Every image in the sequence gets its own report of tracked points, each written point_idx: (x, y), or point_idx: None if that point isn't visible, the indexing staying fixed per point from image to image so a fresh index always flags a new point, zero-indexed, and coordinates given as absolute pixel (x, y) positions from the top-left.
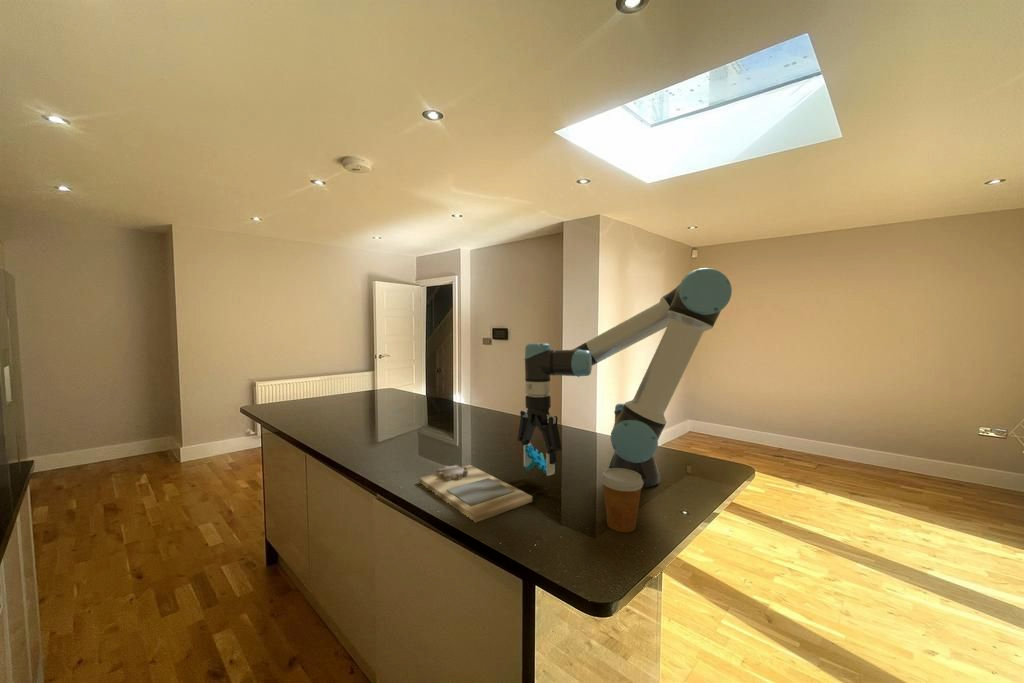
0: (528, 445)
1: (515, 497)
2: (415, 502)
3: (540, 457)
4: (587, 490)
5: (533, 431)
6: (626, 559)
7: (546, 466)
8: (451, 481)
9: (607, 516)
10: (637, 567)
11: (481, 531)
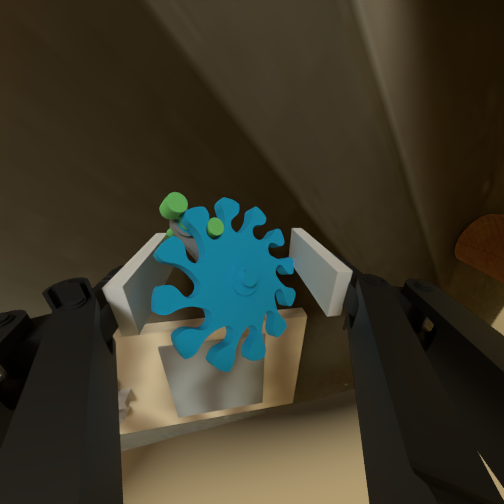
0: (179, 344)
1: (286, 342)
2: (178, 433)
3: (256, 280)
4: (369, 149)
5: (89, 413)
6: (487, 300)
7: (301, 275)
8: (135, 405)
9: (477, 268)
10: (500, 301)
11: (311, 392)
